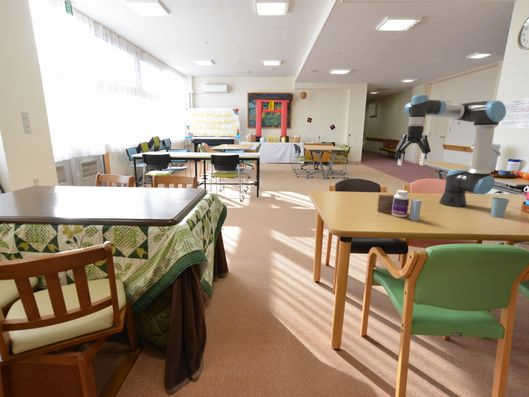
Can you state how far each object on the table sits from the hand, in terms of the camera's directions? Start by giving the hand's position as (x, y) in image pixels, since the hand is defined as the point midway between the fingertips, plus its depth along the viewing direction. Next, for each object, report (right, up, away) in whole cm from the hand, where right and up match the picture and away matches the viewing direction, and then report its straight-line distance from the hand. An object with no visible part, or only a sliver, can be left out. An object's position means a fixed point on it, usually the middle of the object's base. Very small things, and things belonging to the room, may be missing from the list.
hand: (410, 165), depth 161 cm
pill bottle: (-4, -28, +6) cm, 29 cm away
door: (-7, -26, +13) cm, 30 cm away
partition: (0, -28, +6) cm, 29 cm away
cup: (+54, -29, +8) cm, 62 cm away
